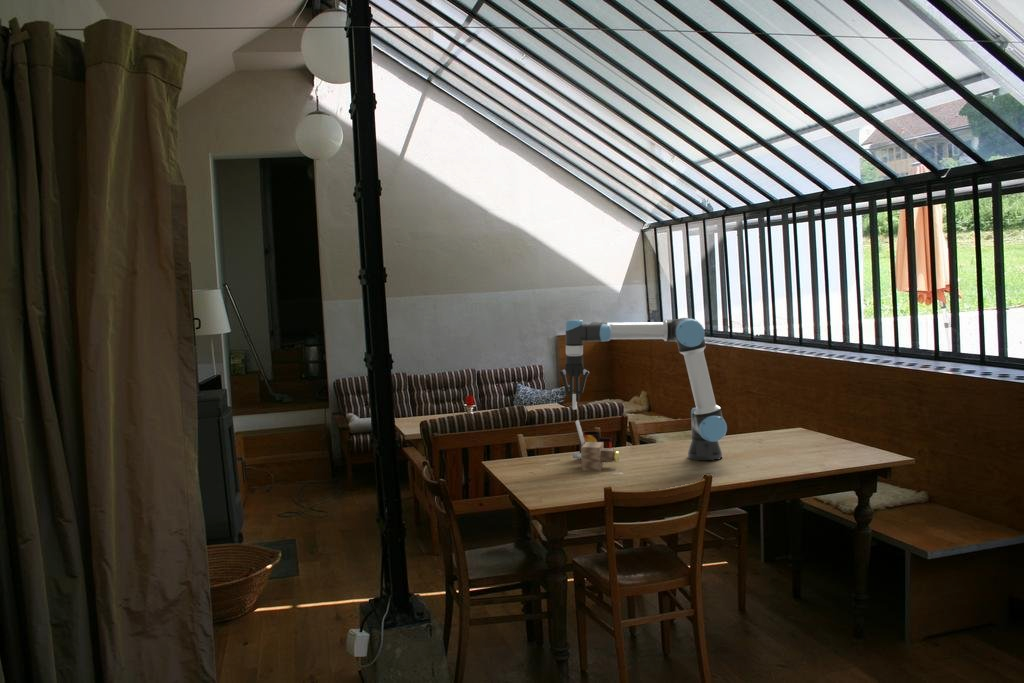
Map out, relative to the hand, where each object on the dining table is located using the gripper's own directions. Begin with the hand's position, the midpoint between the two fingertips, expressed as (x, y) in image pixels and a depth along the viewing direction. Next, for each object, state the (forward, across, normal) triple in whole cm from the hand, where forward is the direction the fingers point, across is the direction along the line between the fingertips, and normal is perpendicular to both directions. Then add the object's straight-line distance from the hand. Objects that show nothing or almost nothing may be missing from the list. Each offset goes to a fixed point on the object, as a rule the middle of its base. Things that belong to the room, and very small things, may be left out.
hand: (574, 409), depth 366 cm
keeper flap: (+10, -3, 0) cm, 10 cm away
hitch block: (+25, -10, 0) cm, 27 cm away
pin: (+23, -9, 0) cm, 24 cm away
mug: (+26, -6, -18) cm, 32 cm away
